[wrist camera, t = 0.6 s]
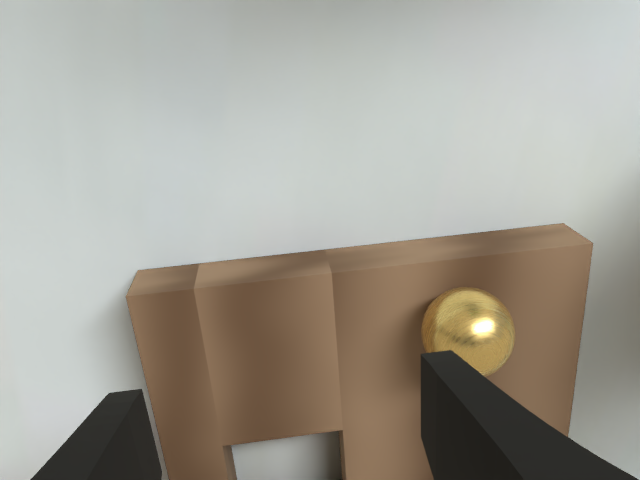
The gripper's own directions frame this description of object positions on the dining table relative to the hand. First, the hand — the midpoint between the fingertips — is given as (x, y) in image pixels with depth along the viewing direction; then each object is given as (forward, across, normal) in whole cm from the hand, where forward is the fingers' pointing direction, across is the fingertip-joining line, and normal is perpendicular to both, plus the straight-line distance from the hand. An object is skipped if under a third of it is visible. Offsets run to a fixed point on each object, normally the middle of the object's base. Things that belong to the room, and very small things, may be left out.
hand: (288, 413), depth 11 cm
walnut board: (+10, -3, +10) cm, 14 cm away
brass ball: (+6, -6, +3) cm, 9 cm away
